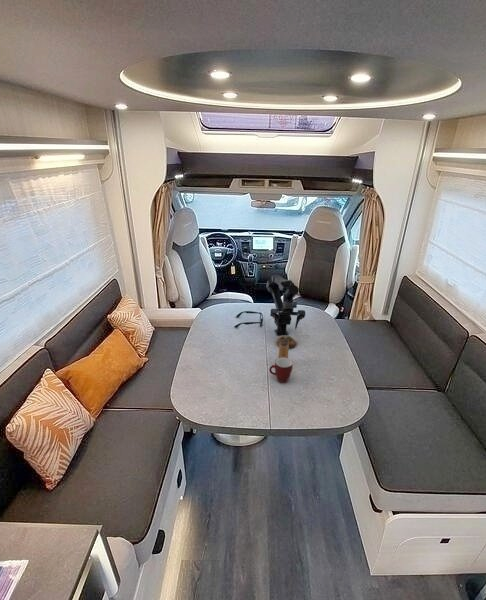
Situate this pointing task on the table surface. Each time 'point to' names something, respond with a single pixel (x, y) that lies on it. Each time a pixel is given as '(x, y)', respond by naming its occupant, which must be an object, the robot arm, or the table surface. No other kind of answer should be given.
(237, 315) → the glasses
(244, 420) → the table surface
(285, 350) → the pepper mill
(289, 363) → the mug
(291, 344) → the bread roll
